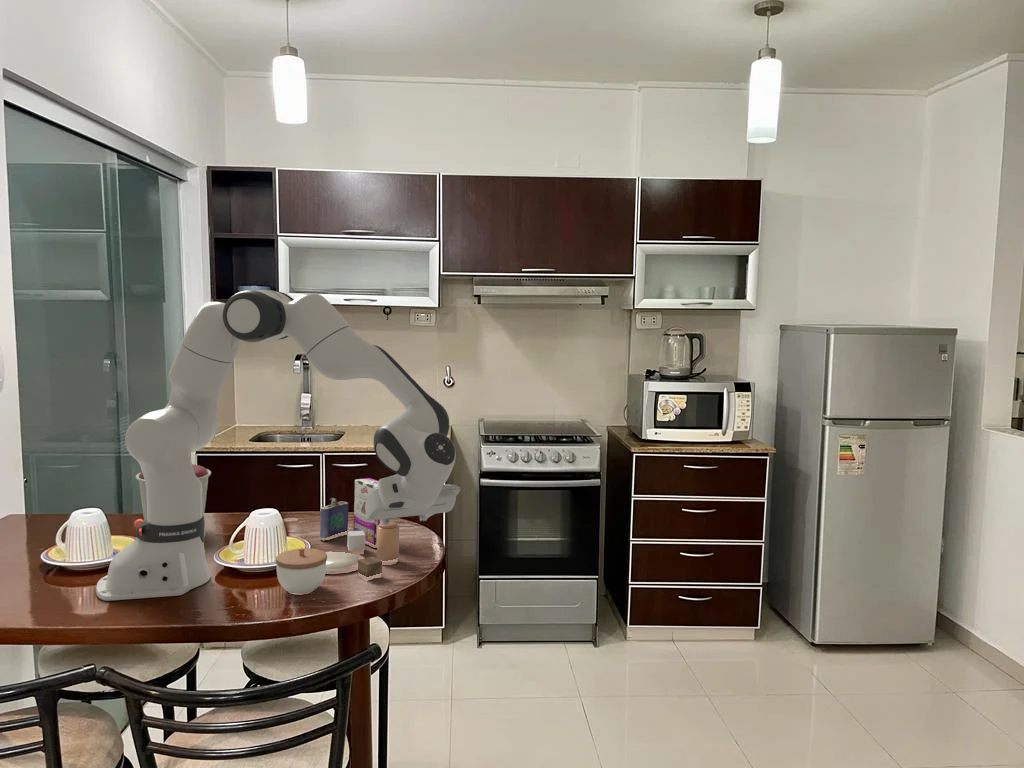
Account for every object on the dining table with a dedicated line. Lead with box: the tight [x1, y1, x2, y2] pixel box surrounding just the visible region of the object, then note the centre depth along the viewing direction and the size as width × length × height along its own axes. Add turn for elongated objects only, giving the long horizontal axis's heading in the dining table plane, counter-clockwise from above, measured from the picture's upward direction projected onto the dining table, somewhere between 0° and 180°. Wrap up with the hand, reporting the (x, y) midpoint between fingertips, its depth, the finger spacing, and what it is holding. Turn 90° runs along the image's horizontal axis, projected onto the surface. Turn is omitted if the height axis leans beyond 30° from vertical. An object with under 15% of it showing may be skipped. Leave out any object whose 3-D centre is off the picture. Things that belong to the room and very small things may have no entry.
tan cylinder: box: [376, 520, 400, 561], centre depth 178 cm, size 5×5×10 cm
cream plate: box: [324, 550, 360, 572], centre depth 175 cm, size 14×14×1 cm
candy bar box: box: [353, 477, 391, 545], centre depth 192 cm, size 11×5×16 cm, turn 42°
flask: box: [319, 497, 350, 538], centre depth 196 cm, size 9×3×11 cm, turn 146°
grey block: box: [346, 530, 366, 551], centre depth 185 cm, size 4×4×5 cm
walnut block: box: [357, 556, 383, 577], centre depth 168 cm, size 4×4×4 cm
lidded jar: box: [275, 547, 327, 593], centre depth 158 cm, size 11×11×9 cm
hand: (403, 520), depth 168 cm, fingers open, 8 cm apart
